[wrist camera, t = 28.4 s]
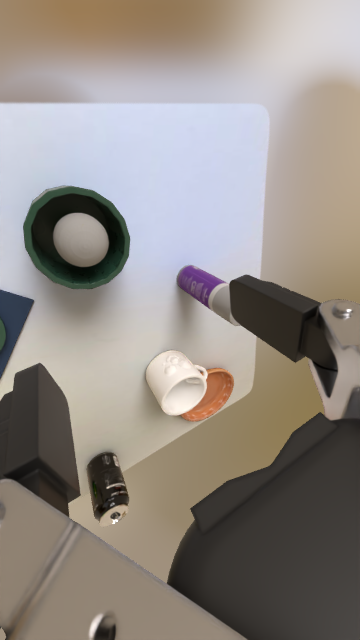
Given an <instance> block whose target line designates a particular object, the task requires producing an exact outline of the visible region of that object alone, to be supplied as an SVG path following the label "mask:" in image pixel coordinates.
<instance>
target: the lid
mask: <svg viewBox="0 0 360 640" xmlns="http://www.w3.org/2000/svg"><path fill="white" fill-rule="evenodd" d="M5 338H6V329H5V325H4V322H3V320H2V319H1V317H0V351H1V349H2V347H3V345H4V342H5Z"/></svg>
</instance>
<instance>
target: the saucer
mask: <svg viewBox="0 0 360 640" xmlns="http://www.w3.org/2000/svg"><path fill="white" fill-rule="evenodd" d="M206 371H207V374H208V376H207V379H206V382H207V389H206V392H205V395H204V397H203V398H202V400H201V401H200V402H199V403H198V404H197V405H196V406H195V407H194V408H192V409H191V410H189V411H188V412H186V413H183V414H180V415H181V416H182V417H183V418H184V419H185V420H188V421H200V420H203V419H206V418H208V417H210V416H211V415H213V414H214V413H216V412H217V411H218V410H219V409H220V408H221V407H222V406H223V405H224V404H225V403H226V401H227V400H228V398H229V397H230V395H231V393H232V390H233V386H234V380H233V376H232V375H231V374H230V373H229V372H228V371H226V370H225V369H221V368H214V369H208V370H206ZM200 373H201V374H202V375H203V376H204V374H203V372H200Z"/></svg>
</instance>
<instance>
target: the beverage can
mask: <svg viewBox="0 0 360 640" xmlns="http://www.w3.org/2000/svg"><path fill="white" fill-rule="evenodd" d="M87 476H88V482H89V488H90V494H91V499H92V505H93V511H94V516H95V518H96V519H97V520H98V521H99V523H100V525H101V526H102V527H106V526H110V525H112V524H115V523H116V522H118V521H119V520H121V519H122V518H123V517H124V516H125V515H126V514H127V512H128V509H129V508H128V503H129V497H128V492H127V489H126V485H125V482H124V478H123V475H122V471H121V468H120V465H119V461H118V458H117V456H116V455H115V454H114V453H108V452H106V453H101V454H99V455H97V456H96V457H94V458H93V459H92V460H91V461H90V463H89V464H88V466H87Z"/></svg>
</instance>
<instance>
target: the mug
mask: <svg viewBox="0 0 360 640" xmlns="http://www.w3.org/2000/svg"><path fill="white" fill-rule="evenodd" d="M197 369H199V370H201V371H202V372H203V374H204V376H203V375H202V374H201V373H200V372H199V371H198V370H197ZM207 376H208V374H207V371H206V370H205V368H203V367H201V366H199V365H193V364H192V363H191V362H190V361H189V359H188V358H187V357H186V356H185V355H184V354H183V353H181V352H179V351H174V350H171V351H166V352H163V353H161V354H159V355H158V356H156V357H155V358H154V359H153V360H152V361H151V363H150V364H149V366H148V368H147V371H146V380H147V383H148V385H149V386H150V388H151V390H152V392H153V394H154V396H155V397H156V399H157V401H158V403H159V405H160V406H161V408H162V410H163V411H164V412H165V413H166V414H168V415H180V414H183V413H186V412H188V411H189V410H191V409H192V408H194V407H195V406H196V405H197V404H198V403H199V402H200V401H201V400H202V398H203V397H204V395H205V392H206V389H207V382H206V379H207Z"/></svg>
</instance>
